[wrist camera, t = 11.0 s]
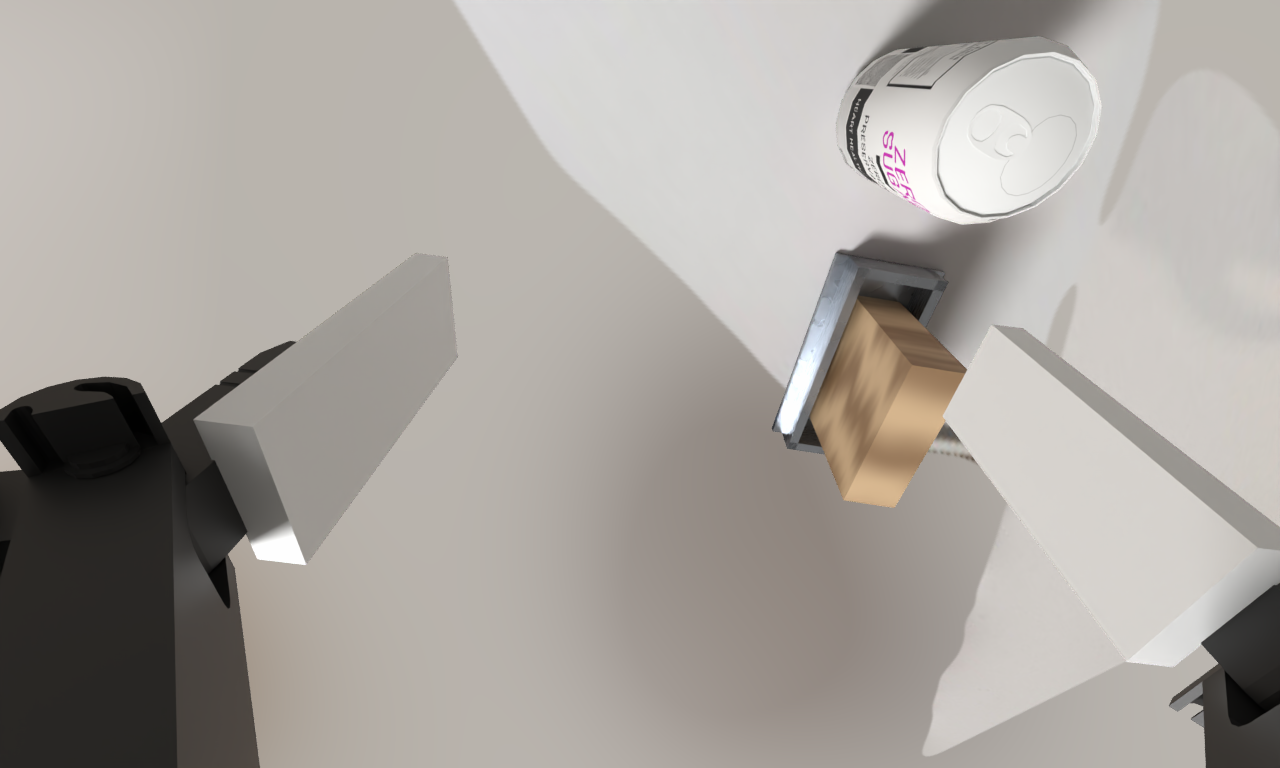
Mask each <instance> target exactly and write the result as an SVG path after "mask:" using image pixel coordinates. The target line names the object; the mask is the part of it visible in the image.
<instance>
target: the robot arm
mask: <svg viewBox="0 0 1280 768" xmlns="http://www.w3.org/2000/svg"><path fill="white" fill-rule="evenodd" d="M457 357H458V355H457V345H456V335H455V325H454V315H453V305H452V296H451V285H450V276H449V266H448V257H444V256H443V257H442V256H435V255H427V254H419V253H415V254H414V255H412V256H411V257H410V258H408V259H407V260H406V261H404V262H403V263H402V264H400V265H399V266H398V267H396V268H395V269H394V270H392V271H391V272H390V273H388V274H387V275H386V276H385V277H383V278H382V279H380V280H379V281H378V282H376V283H375V284H374V285H372V286H371V287H370V288H368V289H367V290H366V291H364V292H363V293H362V294H360V295H359V296H358V297H356V298H355V299H354V300H352V301H351V302H349V303H348V304H347V305H346V306H344V307H343V308H341V309H340V310H339V311H337V312H336V313H335V314H333V315H332V316H331V317H330V318H328V319H327V320H325V321H324V322H323V323H321V324H320V325H319V326H317V327H316V328H315V329H313V330H312V331H311V332H309V333H308V334H307V335H305V336H304V337H303V338H301V339H300V340H299V341H297V342H294V341H289V342H286V343H284V344H281V345H279V346H276V347H274V348H271V349H269V350H266V351H264V352H261V353H259V354H258V355H257V356H255V357H254V358H253V359H251V360H250V361H248V362H247V363H245V364H244V365H243V366H241V367H240V368H239V371H238V372H233V373H231V374H230V375H229V376H227V377H226V378H224V379H223V380H221V381H220V385H214V386H213V387H212V388H210V389H209V390H207V391H206V392H204V393H203V394H202V395H200V396H199V397H197V398H196V399H195V400H193V401H192V402H190V403H189V404H188V405H186V406H185V407H183V408H182V409H180V410H179V411H178V412H176V413H175V414H173V415H172V416H171V417H169V418H168V419H166V420H165V421H164V422H162V423H161V422H160V420H159V418H158V416H157V414H156V412H155V410H154V408H153V406H152V404H151V402H150V401H149V398H148V396H147V395H146V393H145V391H144V389H143V387H142V385H141V384H140V383H138V382H135V381H133V380H130V379H127V378H116V377H98V378H89V379H81V380H74V381H70V382H66V383H62V384H58V385H54V386H50V387H47V388H44V389H41V390H39V391H36V392H33V393H31V394H28V395H26V396H23V397H20V398H19V399H17V400H15V401H14V402H12V403H10V404H9V405H7V406H5V407H4V408H2V409H0V441H1V442H2V443H3V445H4V446H5V447H6V449H7V450H8V452H9V453H10V454H11V456H12V457H13V458H14V460H15V461H16V462H17V464H18V465H19V466H20V468H21V469H22V470H16V471H5V472H0V768H260V765H259V757H258V749H257V742H256V733H255V726H254V717H253V709H252V702H251V694H250V686H249V678H248V670H247V662H246V654H245V646H244V638H243V630H242V622H241V614H240V606H239V599H238V591H237V583H236V575H235V568H234V566H233V564H232V562H231V560H230V558H229V556H228V553H229V552H230V551H231V550H232V549H233V547H235V545H236V544H237V543H238V542H239V541H240V540H241V539H242V538H243V537H244V535H245V534H246V535H247V537H248V539H249V541H250V543H251V546H252V548H253V550H254V552H255V554H256V557H257V559H261V560H269V561H277V562H286V563H294V564H303V565H307V563H308V562H309V560H310V559H311V558H312V556H313V555H314V554H315V552H316V551H317V549H318V548H319V547H320V545H321V544H322V543H323V541H324V540H325V539H326V537H327V536H328V534H329V533H330V532H331V530H332V529H333V527H334V526H335V525H336V523H337V522H338V521H339V519H340V518H341V517H342V515H343V514H344V512H345V511H346V510H347V508H348V507H349V505H350V504H351V503H352V501H353V500H354V499H355V497H356V496H357V495H358V493H359V492H360V490H361V489H362V488H363V486H364V485H365V484H366V482H367V481H368V479H369V478H370V477H371V475H372V474H373V473H374V471H375V470H376V468H377V467H378V466H379V464H380V463H381V461H382V460H383V459H384V458H385V456H386V455H387V453H388V452H389V451H390V449H391V448H392V446H393V445H394V444H395V442H396V441H397V440H398V438H399V437H400V435H401V434H402V433H403V431H404V430H405V429H406V427H407V426H408V424H409V423H410V422H411V420H412V419H413V418H414V416H415V415H416V414H417V412H418V411H419V409H420V408H421V407H422V405H423V404H424V403H425V401H426V400H427V398H428V397H429V396H430V394H431V393H432V391H433V390H434V389H435V387H436V386H437V385H438V383H439V382H440V381H441V379H442V378H443V376H444V375H445V374H446V372H447V371H448V369H449V368H450V367H451V366H452V364H453V363H454V361H455V360H456V359H457ZM943 418H944V419H945V420H946V422H947V423H948V424H949V426H950V427H951V428H952V430H953V431H954V432H955V434H956V435H957V436H958V438H959V439H960V440H961V442H962V443H963V444H964V446H965V447H966V448H967V450H968V451H969V452H970V454H971V455H972V456H973V458H974V459H975V460H976V462H977V463H978V464H979V466H980V467H981V468H982V470H983V471H984V472H985V474H986V475H987V477H988V478H989V479H990V481H991V482H992V483H993V484H994V486H995V487H996V489H997V490H998V491H999V493H1000V494H1001V495H1002V497H1003V498H1004V499H1005V501H1006V502H1007V503H1008V505H1009V506H1010V507H1011V509H1012V510H1013V511H1014V513H1015V514H1016V515H1017V517H1018V518H1019V519H1020V521H1021V522H1022V523H1023V525H1024V526H1025V527H1026V529H1027V530H1028V531H1029V533H1030V534H1031V535H1032V537H1033V538H1034V539H1035V541H1036V542H1037V543H1038V545H1039V546H1040V547H1041V549H1042V550H1043V551H1044V553H1045V554H1046V555H1047V557H1048V558H1049V559H1050V561H1051V562H1052V563H1053V565H1054V566H1055V567H1056V569H1057V570H1058V571H1059V573H1060V574H1061V575H1062V577H1063V578H1064V579H1065V581H1066V582H1067V583H1068V585H1069V586H1070V587H1071V589H1072V590H1073V591H1074V593H1075V594H1076V595H1077V597H1078V598H1079V599H1080V601H1081V602H1082V603H1083V605H1084V606H1085V607H1086V609H1087V610H1088V611H1089V613H1090V614H1091V615H1092V617H1093V618H1094V620H1095V621H1096V622H1097V624H1098V625H1099V626H1100V628H1101V629H1102V630H1103V632H1104V633H1105V634H1106V636H1107V637H1108V638H1109V640H1110V641H1111V642H1112V644H1113V645H1114V646H1115V648H1116V649H1117V650H1118V652H1119V653H1120V654H1121V656H1122V657H1123V658H1124V660H1125V661H1126V662H1134V663H1142V664H1151V665H1158V666H1168V667H1174V666H1175V665H1176V664H1178V663H1179V662H1180V661H1182V660H1183V659H1184V658H1185V657H1187V656H1188V655H1189V654H1191V653H1192V652H1193V651H1194V650H1195V649H1197V648H1198V647H1199V646H1201V645H1203V646H1204V647H1205V648H1206V650H1207V651H1208V652H1209V653H1210V654H1211V655H1212V656H1213V657H1214V659H1215V660H1216V661H1217V662H1218V663H1219V664H1218V665H1216V666H1215V667H1213V668H1212V669H1211V670H1209V671H1208V672H1207V673H1205V674H1204V675H1203V676H1201V677H1200V678H1199V679H1197V680H1196V681H1195V682H1193V683H1192V684H1191V685H1189V686H1188V687H1187V688H1185V689H1184V690H1182V691H1181V692H1180V693H1178V694H1177V695H1176V696H1174V697H1173V698H1172V700H1171V703H1170V705H1169V706H1170V707H1171V708H1173V709H1174V710H1176V711H1179V710H1181V709H1182V708H1184V707H1185V706H1186V705H1188V704H1189V703H1196V704H1198V705H1201V706H1203V710H1202V711H1201V712H1199V713H1198V714H1196V715H1195V716H1193V717H1192V718H1191V720H1192V721H1194V722H1196V723H1197V724H1199V725H1201V726H1202V727H1204V733H1205V757H1206V768H1280V527H1279V526H1277V525H1276V524H1275V523H1274V522H1272V521H1271V520H1270V519H1268V518H1267V517H1266V516H1265V515H1263V514H1262V513H1261V512H1259V511H1258V510H1257V509H1256V508H1254V507H1253V506H1252V505H1250V504H1249V503H1248V502H1246V501H1245V500H1244V499H1243V498H1241V497H1240V496H1239V495H1237V494H1236V493H1235V492H1234V491H1232V490H1231V489H1230V488H1228V487H1227V486H1226V485H1225V484H1223V483H1222V482H1221V481H1219V480H1218V479H1217V478H1215V477H1214V476H1213V475H1212V474H1210V473H1209V472H1208V471H1206V470H1205V469H1204V468H1203V467H1201V466H1200V465H1199V464H1197V463H1196V462H1195V461H1194V460H1192V459H1191V458H1190V457H1188V456H1187V455H1186V454H1185V453H1183V452H1182V451H1181V450H1179V449H1178V448H1177V447H1175V446H1174V445H1173V444H1172V443H1170V442H1169V441H1168V440H1166V439H1165V438H1164V437H1163V436H1161V435H1160V434H1159V433H1157V432H1156V431H1155V430H1154V429H1152V428H1151V427H1150V426H1148V425H1147V424H1146V423H1144V422H1143V421H1142V420H1141V419H1139V418H1138V417H1137V416H1135V415H1134V414H1133V413H1132V412H1130V411H1129V410H1128V409H1126V408H1125V407H1124V406H1123V405H1121V404H1120V403H1119V402H1117V401H1116V400H1115V399H1114V398H1112V397H1111V396H1110V395H1108V394H1107V393H1106V392H1104V391H1103V390H1102V389H1101V388H1099V387H1098V386H1097V385H1095V384H1094V383H1093V382H1092V381H1090V380H1089V379H1088V378H1086V377H1085V376H1084V375H1083V374H1081V373H1080V372H1079V371H1077V370H1076V369H1075V368H1073V367H1072V366H1071V365H1070V364H1068V363H1067V362H1066V361H1064V360H1063V359H1062V358H1061V357H1059V356H1058V355H1056V354H1055V353H1054V352H1053V351H1052V350H1050V349H1049V348H1048V347H1046V346H1045V345H1044V344H1043V343H1041V342H1040V341H1039V340H1037V339H1036V338H1035V337H1033V336H1032V335H1031V334H1030V333H1028V332H1027V331H1026V330H1024V329H1023V328H1016V327H1008V326H1000V325H991V327H990V328H989V330H988V332H987V334H986V336H985V338H984V340H983V341H982V343H981V345H980V347H979V349H978V351H977V353H976V355H975V356H974V358H973V360H972V362H971V364H970V366H969V368H968V369H967V371H966V373H965V375H964V377H963V379H962V381H961V382H960V384H959V386H958V388H957V390H956V392H955V394H954V396H953V397H952V399H951V401H950V403H949V405H948V407H947V409H946V410H945V412H944V414H943Z"/></svg>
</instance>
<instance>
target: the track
mask: <svg viewBox="0 0 1280 768" xmlns="http://www.w3.org/2000/svg"><path fill="white" fill-rule="evenodd" d="M944 275H945V273H944V272H943V271H939V270H934V269H928V268H922V267H916V266H910V265H904V264H898V263H892V262H886V261H881V260H875V259H869V258H863V257H857V256H851V255H845V254H839V253H836V254H835V257H834V259H833V262H832V265H831V267H830V270H829V273H828V276H827V278H826V281H825V284H824V287H823V289H822V292H821V295H820V298H819V300H818V303H817V306H816V309H815V311H814V314H813V317H812V320H811V322H810V325H809V328H808V330H807V333H806V336H805V339H804V341H803V344H802V347H801V350H800V352H799V355H798V358H797V361H796V363H795V366H794V369H793V372H792V374H791V377H790V380H789V383H788V385H787V388H786V391H785V394H784V397H783V399H782V402H781V404H780V407H779V410H778V413H777V416H776V418H775V421H774V424H773V426H772V430H773V431H775V432H782V434H783V437H784V440H785V443H786V446H787V449H793V450H800V451H806V452H813V453H819V454H825V453H824V451H823V448H822V446H821V444H820V441H819V439H818V436H817V434H816V431H815V429H814V426H813V424H812V422H811V419H810V417H809V415H810V413H811V410H812V408H813V405H814V403H815V400H816V398H817V395H818V393H819V390H820V388H821V386H822V383H823V381H824V378H825V376H826V373H827V371H828V368H829V366H830V363H831V361H832V358H833V356H834V354H835V351H836V349H837V346H838V344H839V341H840V339H841V336H842V334H843V331H844V329H845V327H846V324H847V322H848V319H849V317H850V314H851V312H852V309H853V307H854V304H855V302H856V300H857V297H858V295H859V296H865V297H871V298H877V299H883V300H889V301H895V302H900V303H901V304H902V305H903V306H904V307H905V308H906V309H907V310H908V311H909V312H910V313H911V314H912V315H913V316H914V317H915V318H916V319H917V320H918V321H919V322H920V323H921V324H922V325H923V326H924V327H925V328H926V326H927V324H928V322H929V320H930V318H931V316H932V314H933V312H934V310H935V308H936V306H937V304H938V302H939V300H940V298H941V296H942V294H943V292H944V290H945V288H946V286H947V284H948V281H946V280H945V279H944V278H943V277H944Z"/></svg>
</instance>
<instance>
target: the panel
mask: <svg viewBox="0 0 1280 768" xmlns="http://www.w3.org/2000/svg"><path fill="white" fill-rule="evenodd" d="M966 371H967V369H966V368H965V367H964V366H963V365H962V364H961V363H960V362H959V361H958V360H957V359H956V358H955V357H954V356H953V355H952V354H951V353H950V352H949V351H948V350H947V349H946V348H945V347H944V346H943V345H942V344H941V343H940V342H939V341H938V340H937V339H936V338H935V337H934V336H933V335H932V334H931V333H930V332H929V331H928V330H927V329H926V328H925V327H924V326H923V325H922V324H921V323H920V322H919V321H918V320H917V319H916V318H915V317H914V316H913V315H912V314H911V313H910V312H909V311H908V310H907V309H906V308H905V307H904V306H903V305H902V304H901V303H900V302H895V301H889V300H883V299H877V298H871V297H865V296H859V295H858V297H857V300H856V302H855V304H854V307H853V309H852V312H851V314H850V317H849V319H848V322H847V324H846V327H845V329H844V331H843V334H842V336H841V339H840V341H839V344H838V346H837V349H836V351H835V354H834V356H833V358H832V361H831V363H830V366H829V368H828V371H827V373H826V376H825V378H824V381H823V383H822V386H821V388H820V390H819V393H818V395H817V398H816V400H815V403H814V405H813V408H812V410H811V413H810V415H809V417H810V419H811V422H812V424H813V426H814V429H815V431H816V434H817V436H818V439H819V441H820V444H821V446H822V448H823V451H824V453H825V456H826V458H827V461H828V463H829V465H830V468H831V470H832V473H833V475H834V478H835V480H836V482H837V485H838V487H839V490H840V492H841V495H842V497H843V500H845V501H852V502H859V503H866V504H872V505H879V506H887V507H892V508H894V507H895V506H896V504H897V502H898V501H899V499H900V497H901V496H902V494H903V492H904V490H905V489H906V487H907V486H908V484H909V482H910V480H911V479H912V477H913V475H914V474H915V472H916V470H917V468H918V467H919V465H920V463H921V462H922V460H923V458H924V456H925V455H926V453H927V451H928V450H929V448H930V446H931V445H932V443H933V441H934V439H935V438H936V436H937V434H938V433H939V431H940V429H941V427H942V426H943V424H944V422H945V421H946V420H945V419H944V418H943V414H944V412H945V410H946V409H947V407H948V405H949V403H950V401H951V399H952V397H953V396H954V394H955V392H956V390H957V388H958V386H959V384H960V382H961V381H962V379H963V377H964V375H965V373H966Z"/></svg>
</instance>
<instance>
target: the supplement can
mask: <svg viewBox="0 0 1280 768" xmlns="http://www.w3.org/2000/svg"><path fill="white" fill-rule="evenodd" d="M1101 109H1102V104H1101V99H1100V95H1099V90H1098V85H1097V81H1096V79H1095V78H1094V77H1093V75H1092V74H1091V73H1090V72H1089V71H1088V70H1087V67H1086V66H1085V65H1084V64H1083V63H1082V62H1081V60H1080V59H1079V58H1078V57H1077V56H1076V55H1075V53H1074V52H1073V51H1072V50H1071V49H1070V48H1069V47H1068V46H1066V45H1064V44H1061V43H1058V42H1055V41H1052V40H1049V39H1046V38H1044V37H1041V36H1035V37H1025V38H1014V39H1003V40H992V41H982V42H971V43H960V44H949V45H939V46H928V47H917V48H907V49H898V50H894V51H892V52H890V53H888V54H886V55H884V56H882V57H880V58H878V59H876V60H874V61H873V62H872V63H871V64H870V65H869V66H867V67H866V68H865V69H864V70H863V71H862V72H861V73H860V74H859V75H858V76H857V77H856V78H855V79H854V81H853V82H852V84H851V86H850V87H849V89H848V91H847V92H846V94H845V96H844V97H843V99H842V101H841V105H840V109H839V113H838V117H837V121H836V135H837V146H838V148H839V150H840V152H841V155H842V157H843V159H844V161H845V163H846V164H847V165H848V166H850V167H851V168H852V169H853V170H854V171H855V172H856V173H857V174H859V175H860V176H862V177H864V178H866V179H868V180H869V181H871V182H873V183H875V184H877V185H879V186H880V187H882V188H884V189H886V190H888V191H890V192H891V193H893V194H895V195H897V196H899V197H901V198H902V199H904V200H906V201H908V202H910V203H912V204H914V205H915V206H917V207H919V208H921V209H923V210H925V211H926V212H928V213H930V214H932V215H934V216H936V217H938V218H941V219H945V220H948V221H951V222H954V223H958V224H961V225H962V224H976V223H990V222H992V221H995V220H998V219H1000V218H1008V217H1011V216H1014V215H1016V214H1019V213H1021V212H1024V211H1027V210H1029V209H1032V208H1034V207H1036V206H1037V205H1039V204H1040V203H1042V202H1043V201H1044V200H1046V199H1047V198H1049V197H1050V196H1051V195H1053V194H1054V193H1056V192H1057V191H1058V190H1060V189H1061V188H1062V187H1063V186H1064V184H1065V183H1066V182H1067V181H1068V180H1069V179H1070V178H1071V176H1072V175H1073V174H1074V173H1075V172H1076V171H1077V170H1078V168H1079V167H1080V166H1081V165H1082V164H1083V162H1084V160H1085V158H1086V156H1087V154H1088V152H1089V150H1090V148H1091V146H1092V144H1093V142H1094V140H1095V138H1096V136H1097V131H1098V126H1099V120H1100V114H1101Z"/></svg>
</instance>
